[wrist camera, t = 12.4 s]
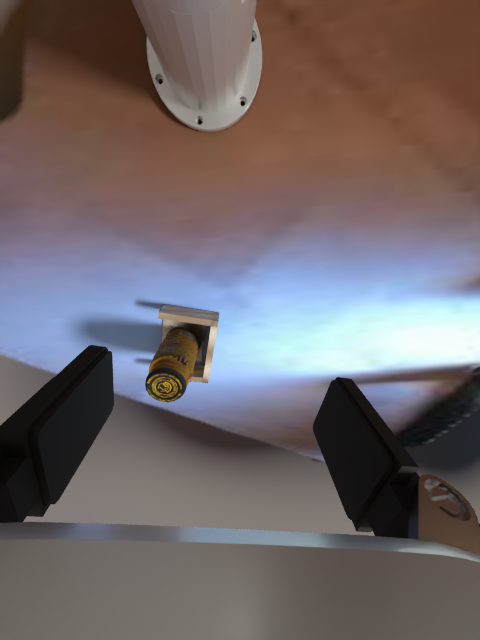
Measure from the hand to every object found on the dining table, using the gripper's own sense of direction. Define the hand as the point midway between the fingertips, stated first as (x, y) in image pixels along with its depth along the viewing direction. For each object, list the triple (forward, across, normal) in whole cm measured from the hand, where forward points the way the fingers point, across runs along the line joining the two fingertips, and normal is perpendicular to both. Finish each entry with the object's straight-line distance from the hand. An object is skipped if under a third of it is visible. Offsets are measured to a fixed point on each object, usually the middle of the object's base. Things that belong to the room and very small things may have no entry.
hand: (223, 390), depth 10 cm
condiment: (+29, +5, +14) cm, 32 cm away
